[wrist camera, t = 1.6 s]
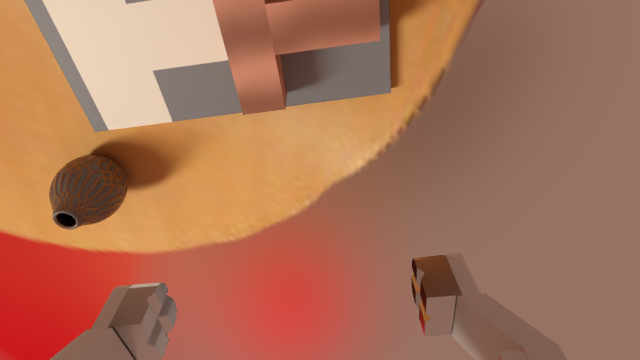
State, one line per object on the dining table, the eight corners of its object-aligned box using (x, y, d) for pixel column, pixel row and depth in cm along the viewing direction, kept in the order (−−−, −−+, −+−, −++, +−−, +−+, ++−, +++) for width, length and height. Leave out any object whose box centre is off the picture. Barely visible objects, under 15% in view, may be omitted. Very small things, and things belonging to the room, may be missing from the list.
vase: (141, 160, 43) (108, 208, 36) (129, 202, 47) (96, 253, 39) (77, 136, 41) (29, 182, 34) (69, 182, 45) (24, 232, 37)
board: (3, -56, 31) (-5, -55, 30) (384, -117, 29) (386, -117, 28) (99, 127, 41) (95, 131, 40) (389, 89, 39) (390, 92, 38)
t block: (207, -65, 30) (195, -63, 27) (368, -91, 29) (376, -91, 26) (248, 97, 38) (243, 114, 35) (375, 80, 37) (382, 96, 34)
